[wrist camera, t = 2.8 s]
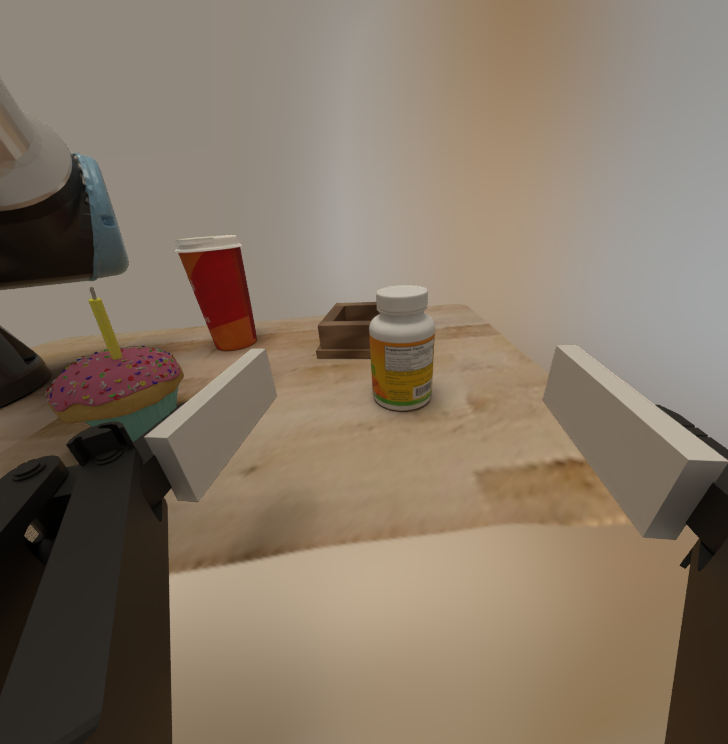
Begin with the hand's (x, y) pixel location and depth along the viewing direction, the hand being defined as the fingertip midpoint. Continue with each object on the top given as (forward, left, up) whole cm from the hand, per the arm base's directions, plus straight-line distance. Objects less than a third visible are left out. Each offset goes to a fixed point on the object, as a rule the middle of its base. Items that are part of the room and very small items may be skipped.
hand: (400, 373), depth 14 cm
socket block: (-5, +25, -8) cm, 26 cm away
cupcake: (-22, +5, -8) cm, 24 cm away
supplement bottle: (0, +11, -8) cm, 14 cm away
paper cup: (-24, +24, -8) cm, 35 cm away
